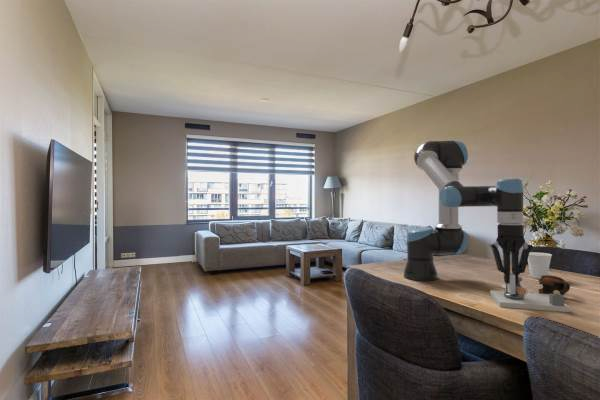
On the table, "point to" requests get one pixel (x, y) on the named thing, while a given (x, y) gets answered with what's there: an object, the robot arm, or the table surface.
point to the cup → (539, 264)
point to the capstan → (516, 291)
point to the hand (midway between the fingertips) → (511, 292)
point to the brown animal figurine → (553, 285)
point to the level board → (533, 301)
